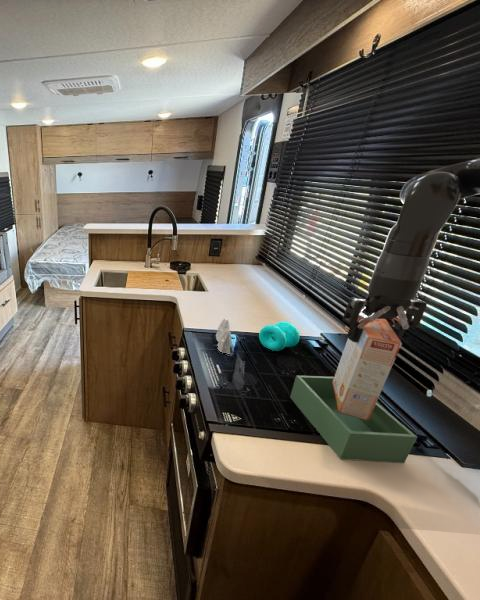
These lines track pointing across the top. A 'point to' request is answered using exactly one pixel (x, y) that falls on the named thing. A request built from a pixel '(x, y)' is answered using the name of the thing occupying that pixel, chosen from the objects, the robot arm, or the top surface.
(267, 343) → the donuts
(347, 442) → the tote
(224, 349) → the grey jagged slab
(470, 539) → the top surface
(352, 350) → the cracker box
